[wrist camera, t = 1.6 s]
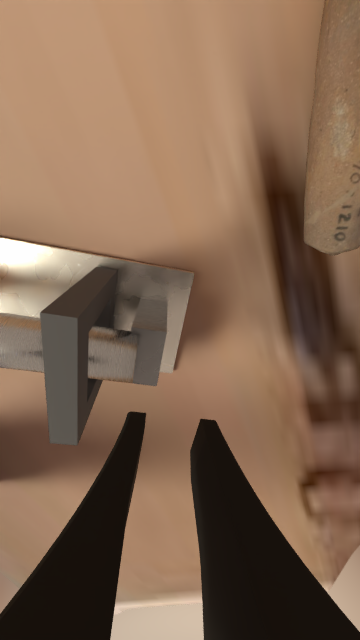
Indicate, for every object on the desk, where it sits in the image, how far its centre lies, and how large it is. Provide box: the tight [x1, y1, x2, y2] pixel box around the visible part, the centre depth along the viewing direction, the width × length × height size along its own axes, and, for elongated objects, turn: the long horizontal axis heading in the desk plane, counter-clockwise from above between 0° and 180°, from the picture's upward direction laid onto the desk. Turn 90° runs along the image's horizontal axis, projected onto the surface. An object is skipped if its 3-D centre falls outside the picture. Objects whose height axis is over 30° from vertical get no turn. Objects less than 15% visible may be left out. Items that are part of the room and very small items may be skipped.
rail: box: [0, 237, 194, 386], centre depth 14 cm, size 22×9×8 cm, turn 79°
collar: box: [40, 267, 117, 445], centre depth 14 cm, size 1×8×8 cm, turn 169°
